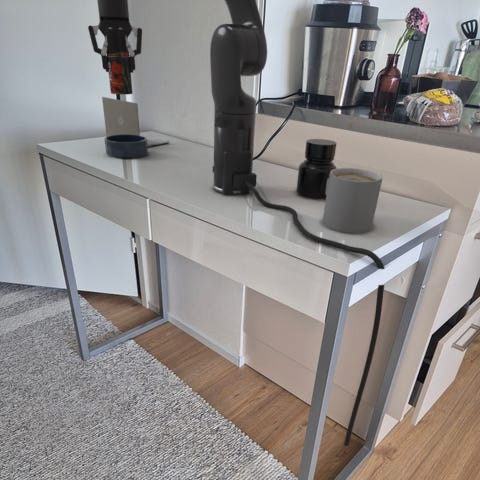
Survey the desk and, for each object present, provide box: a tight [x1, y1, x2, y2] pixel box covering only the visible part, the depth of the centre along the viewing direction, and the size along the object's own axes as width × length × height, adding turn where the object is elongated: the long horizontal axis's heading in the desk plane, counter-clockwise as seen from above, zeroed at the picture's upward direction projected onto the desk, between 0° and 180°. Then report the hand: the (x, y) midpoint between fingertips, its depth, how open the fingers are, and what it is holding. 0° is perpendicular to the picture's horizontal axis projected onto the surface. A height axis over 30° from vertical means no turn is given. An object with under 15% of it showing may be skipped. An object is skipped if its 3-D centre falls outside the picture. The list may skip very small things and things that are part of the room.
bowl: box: [104, 134, 149, 159], centre depth 130 cm, size 12×12×4 cm
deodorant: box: [104, 29, 133, 95], centre depth 118 cm, size 6×6×15 cm
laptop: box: [101, 96, 170, 148], centre depth 143 cm, size 18×12×13 cm
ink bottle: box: [296, 138, 338, 200], centre depth 102 cm, size 10×9×12 cm
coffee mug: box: [321, 167, 383, 234], centre depth 87 cm, size 13×10×10 cm
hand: (119, 71), depth 119 cm, fingers closed on deodorant, 6 cm apart
